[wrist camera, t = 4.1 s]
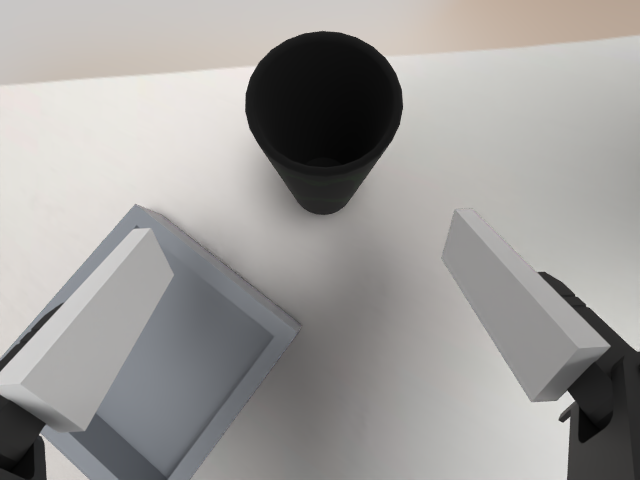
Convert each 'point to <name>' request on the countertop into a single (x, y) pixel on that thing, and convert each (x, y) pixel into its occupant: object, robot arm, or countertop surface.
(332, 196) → the cup
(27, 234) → the countertop surface
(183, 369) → the box
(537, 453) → the countertop surface
